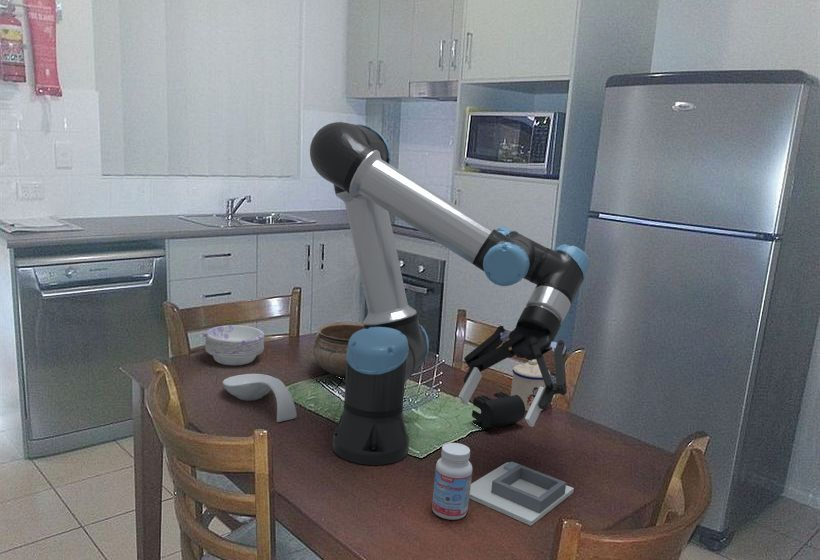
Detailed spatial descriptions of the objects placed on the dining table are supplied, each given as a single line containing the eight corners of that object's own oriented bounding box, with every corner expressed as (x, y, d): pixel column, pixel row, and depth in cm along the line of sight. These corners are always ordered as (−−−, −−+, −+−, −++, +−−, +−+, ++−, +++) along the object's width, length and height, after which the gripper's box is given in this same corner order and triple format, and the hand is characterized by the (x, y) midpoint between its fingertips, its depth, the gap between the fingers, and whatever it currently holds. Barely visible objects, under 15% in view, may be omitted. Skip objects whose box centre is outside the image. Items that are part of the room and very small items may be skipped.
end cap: (490, 435, 144) (493, 406, 142) (469, 423, 149) (472, 394, 148) (524, 427, 149) (527, 399, 148) (502, 416, 155) (505, 388, 154)
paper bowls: (256, 371, 172) (257, 341, 171) (197, 367, 172) (197, 337, 171) (268, 354, 187) (270, 327, 186) (214, 350, 187) (215, 322, 186)
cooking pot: (408, 381, 173) (411, 336, 171) (356, 397, 159) (359, 348, 157) (341, 357, 189) (344, 315, 187) (289, 370, 175) (291, 325, 173)
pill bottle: (426, 515, 110) (432, 451, 107) (438, 498, 115) (444, 437, 113) (461, 524, 107) (468, 460, 105) (472, 507, 113) (478, 445, 111)
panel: (460, 494, 117) (461, 478, 117) (506, 465, 130) (508, 451, 129) (530, 526, 109) (532, 509, 108) (573, 492, 121) (575, 477, 121)
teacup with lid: (529, 415, 157) (534, 368, 154) (501, 402, 164) (506, 357, 161) (561, 406, 164) (567, 361, 162) (533, 394, 171) (538, 351, 169)
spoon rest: (213, 392, 156) (214, 363, 155) (258, 384, 164) (259, 356, 163) (264, 427, 139) (265, 395, 138) (311, 416, 147) (313, 385, 145)
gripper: (610, 341, 121) (564, 443, 112) (492, 314, 136) (444, 402, 127) (602, 317, 116) (553, 422, 107) (480, 292, 131) (429, 382, 122)
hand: (494, 411), depth 117 cm, fingers open, 13 cm apart
